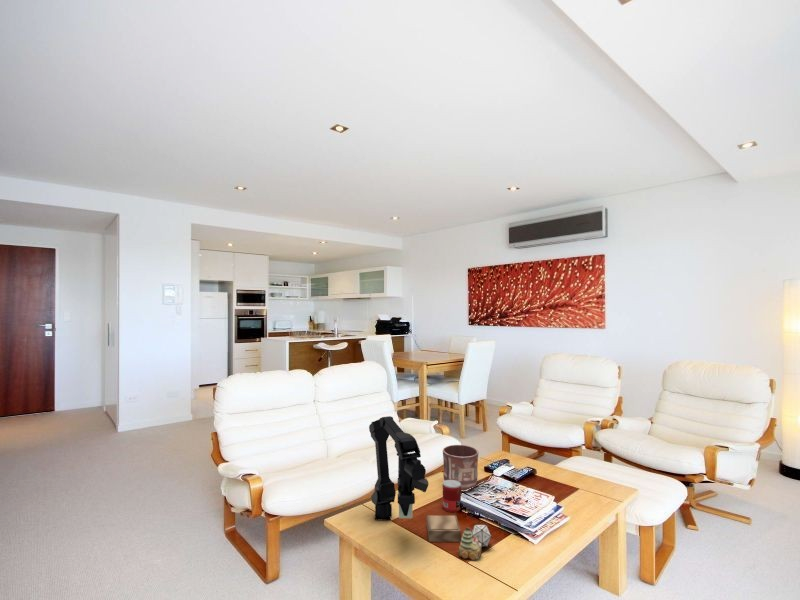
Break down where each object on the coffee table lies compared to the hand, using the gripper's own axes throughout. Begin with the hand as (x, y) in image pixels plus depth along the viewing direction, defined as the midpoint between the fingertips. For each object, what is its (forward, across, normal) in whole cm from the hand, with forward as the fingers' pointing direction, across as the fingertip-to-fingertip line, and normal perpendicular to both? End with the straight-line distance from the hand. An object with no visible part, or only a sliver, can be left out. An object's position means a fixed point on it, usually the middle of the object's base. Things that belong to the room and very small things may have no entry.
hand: (405, 512), depth 163 cm
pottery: (+11, +49, -28) cm, 57 cm away
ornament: (+11, -9, -23) cm, 27 cm away
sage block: (+1, 0, 0) cm, 1 cm away
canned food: (+11, +27, -21) cm, 36 cm away
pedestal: (+11, +6, -15) cm, 19 cm away
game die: (+11, -3, -28) cm, 30 cm away
